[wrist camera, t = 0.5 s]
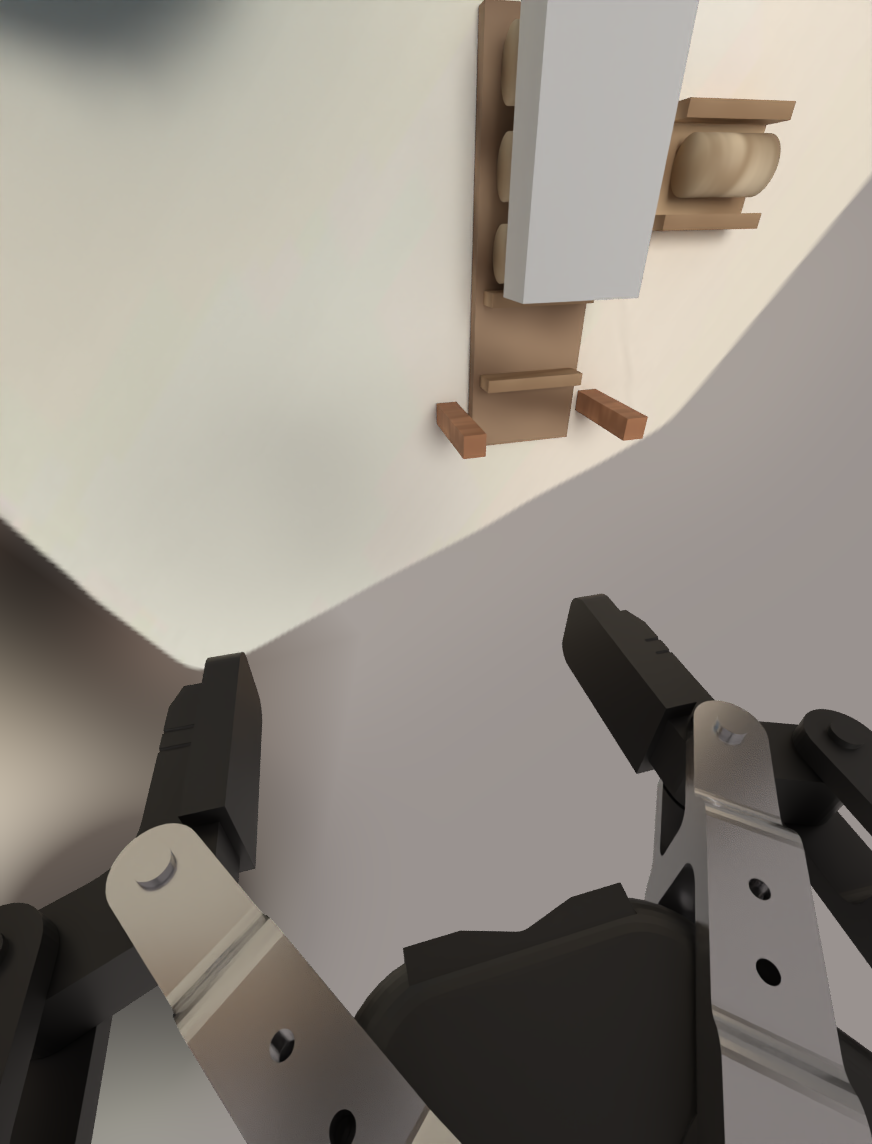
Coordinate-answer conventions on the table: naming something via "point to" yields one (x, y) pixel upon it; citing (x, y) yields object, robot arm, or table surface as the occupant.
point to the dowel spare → (724, 164)
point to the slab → (591, 143)
